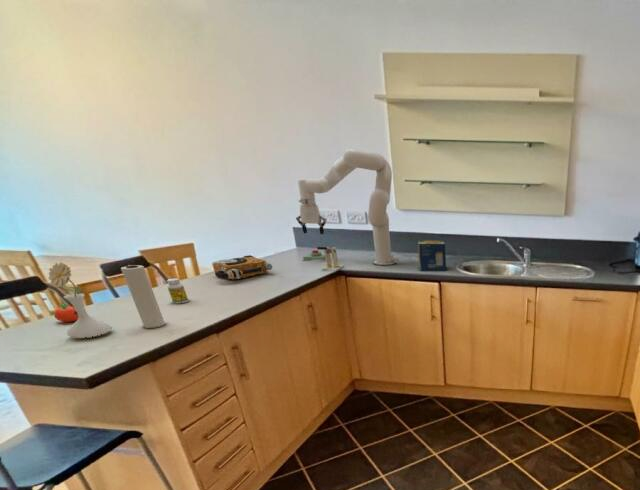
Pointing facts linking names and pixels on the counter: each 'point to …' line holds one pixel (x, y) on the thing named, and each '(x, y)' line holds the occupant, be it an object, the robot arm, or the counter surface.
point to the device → (240, 267)
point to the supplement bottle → (177, 291)
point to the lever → (325, 249)
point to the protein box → (432, 255)
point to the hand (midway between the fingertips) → (313, 233)
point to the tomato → (66, 314)
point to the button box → (314, 256)
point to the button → (315, 251)
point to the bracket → (328, 259)
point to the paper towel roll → (143, 296)
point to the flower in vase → (77, 306)
